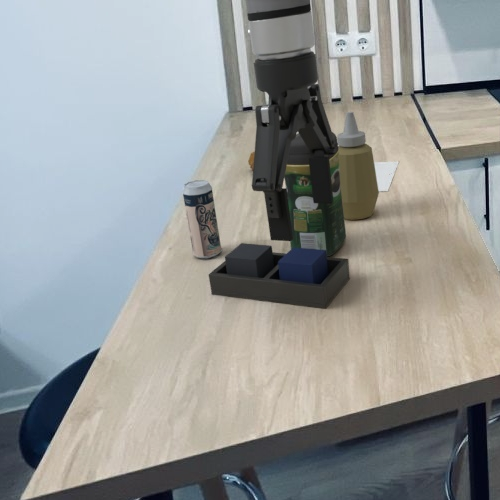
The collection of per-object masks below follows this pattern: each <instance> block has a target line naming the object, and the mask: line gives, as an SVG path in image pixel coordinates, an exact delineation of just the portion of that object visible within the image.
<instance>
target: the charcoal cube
mask: <svg viewBox="0 0 500 500" xmlns="http://www.w3.org/2000/svg"><path fill="white" fill-rule="evenodd" d="M273 252H274V251H273V246H272V245H271V244H270V245H268V244H257V243H245V242H241V243H240V244H239V245H237V246H236V247H234V249H232V250H231V251H230V252H229V253H227V254H226V255H225V256H224V261H225V262H226V269H227V274H230V275H239V276H248V277H257V278H264V277H265V276H266V275H267V274H268V273H269V272H270V271H271V270H272V269H274V260H273Z"/></svg>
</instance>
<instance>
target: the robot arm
mask: <svg viewBox="0 0 500 500" xmlns="http://www.w3.org/2000/svg"><path fill="white" fill-rule="evenodd" d="M245 4H246V11H247V13H246V16H247V20H248V30H247V35H248V36H249V37H250V43H251V50H252V55H254V56H257V59H255V60H254V63H253V69H254V76H255V83H256V88H257V90H258V91H259V92H262V93H266V94H267V96H268V104H263V105H261V104H260V105H256V106H255V112H254V113H255V121H256V123H255V124H256V127H255V128H256V130H255V143H254V151H255V153H254V166H253V170H252V181H251V189H252V191H254V192H262V193H263V195H264V201H265V202H264V203H265V208H266V209H265V210H266V216H267V224H268V230H269V235H270V236H269V237H270V241H280V242H281V241H282V242H290V241H291V240H292V239H293V234H292V226H291V218H290V211H289V203H288V195H287V188H286V187H283V186H284V182H285V178H284V176H285V171H286V166H287V161H288V156H289V150H290V145H291V141H292V140H293V139H295V137H296V134H298V133H299V134H300V136H301V138H302V139H303V141H304V143H305V144H306V146H307V148H308V149H309V151H310V153H311V154H312V155H315V157H310V158H309V167H310V176H311V185H312V193H313V202H314V203H322V204H332V203H333V202H334V201H333V191H332V182H331V172H330V162H329V157H328V155H335V153H336V148H335V147H334V145H335V140H334V137H333V134H332V132H333V130H332V128H331V125H330V122H329V119H328V116H327V112H326V109H325V105H324V104H323V100H322V95H321V88H320V84H319V83H317V82H318V81H319V72H318V63H317V54H316V53H315V52H314V51H313V50H312V49H311V48H313V47H314V46H315V45H316V39H315V30H314V29H315V28H314V21H313V14H312V13H313V12H312V6H311V0H245ZM325 137H326V138H325Z"/></svg>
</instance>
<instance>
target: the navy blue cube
mask: <svg viewBox="0 0 500 500" xmlns="http://www.w3.org/2000/svg"><path fill="white" fill-rule="evenodd" d="M327 257H328V256H327V255H326V250H318V249H306V248H294V247H293V248H292V249H291V248H290V250H289V251H287V254H286V255H285V256H284V257H282V258H281V259H280V260H279V261H278V267H279V275H280V280H284V281H293V282H302V283H312V284H321V283H322V282H323V281H324V280H325V279H326V277H327V276H328V266H327Z"/></svg>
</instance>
